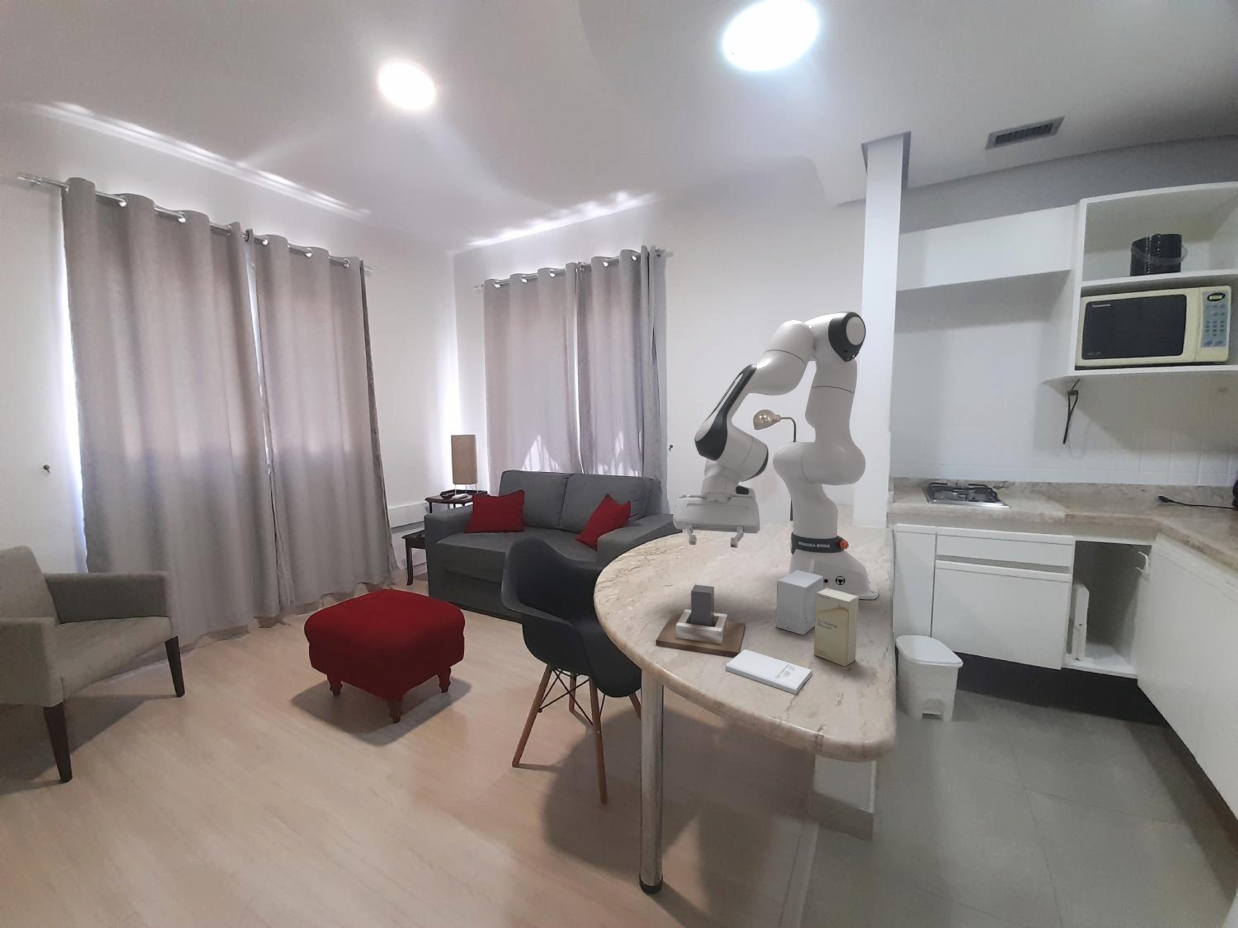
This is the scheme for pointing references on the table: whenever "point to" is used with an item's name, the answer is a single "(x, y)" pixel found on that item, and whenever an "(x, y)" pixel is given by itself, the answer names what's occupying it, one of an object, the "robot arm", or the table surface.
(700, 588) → the plug
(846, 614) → the skincare box
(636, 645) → the table surface
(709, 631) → the socket board
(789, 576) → the skincare box
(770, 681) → the external hard drive
